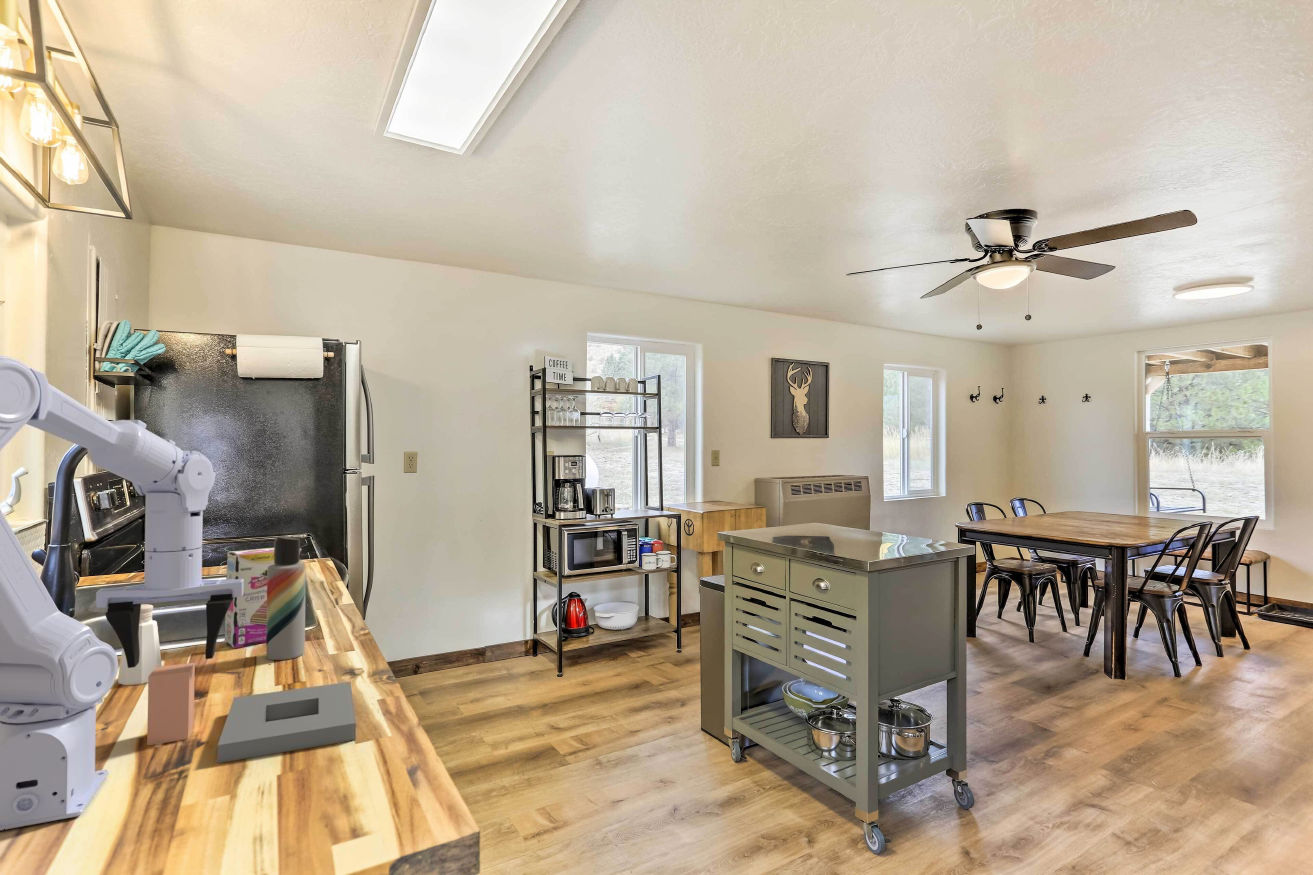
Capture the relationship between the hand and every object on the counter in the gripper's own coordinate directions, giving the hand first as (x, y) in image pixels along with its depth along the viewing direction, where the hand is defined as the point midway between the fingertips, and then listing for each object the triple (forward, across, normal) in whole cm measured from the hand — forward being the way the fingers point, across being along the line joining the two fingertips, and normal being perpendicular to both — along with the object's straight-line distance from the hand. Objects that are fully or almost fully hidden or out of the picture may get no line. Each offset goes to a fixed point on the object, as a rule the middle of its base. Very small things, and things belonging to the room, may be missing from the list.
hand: (172, 660), depth 83 cm
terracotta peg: (+9, 0, 0) cm, 9 cm away
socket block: (+9, -13, +3) cm, 16 cm away
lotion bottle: (+9, -11, -30) cm, 33 cm away
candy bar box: (+9, -7, -42) cm, 44 cm away
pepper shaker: (+9, +8, -26) cm, 29 cm away
